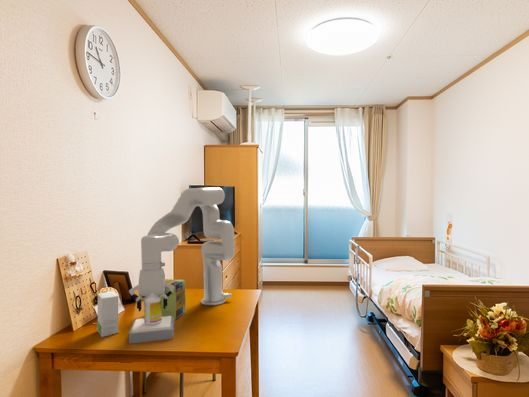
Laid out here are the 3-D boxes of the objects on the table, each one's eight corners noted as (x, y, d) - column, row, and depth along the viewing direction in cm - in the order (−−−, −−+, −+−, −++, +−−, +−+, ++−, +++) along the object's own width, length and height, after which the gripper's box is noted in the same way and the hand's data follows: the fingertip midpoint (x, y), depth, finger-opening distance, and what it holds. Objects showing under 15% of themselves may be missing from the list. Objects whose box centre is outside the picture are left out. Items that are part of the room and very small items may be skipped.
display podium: (174, 325, 142) (173, 314, 142) (173, 338, 128) (172, 327, 128) (134, 329, 138) (134, 318, 138) (128, 343, 125) (128, 331, 125)
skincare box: (97, 331, 137) (96, 293, 137) (114, 326, 141) (113, 290, 141) (101, 337, 131) (101, 298, 130) (119, 333, 135) (118, 294, 134)
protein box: (176, 320, 148) (175, 285, 148) (144, 318, 151) (144, 284, 151) (186, 312, 158) (185, 279, 158) (156, 310, 161) (156, 278, 161)
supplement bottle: (165, 320, 135) (164, 289, 135) (154, 326, 129) (154, 293, 129) (151, 318, 138) (151, 287, 138) (140, 324, 131) (140, 292, 131)
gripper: (174, 263, 139) (175, 304, 139) (130, 265, 135) (130, 308, 135) (173, 266, 131) (174, 310, 132) (126, 269, 127) (127, 314, 128)
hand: (152, 308), depth 133 cm, fingers open, 9 cm apart
